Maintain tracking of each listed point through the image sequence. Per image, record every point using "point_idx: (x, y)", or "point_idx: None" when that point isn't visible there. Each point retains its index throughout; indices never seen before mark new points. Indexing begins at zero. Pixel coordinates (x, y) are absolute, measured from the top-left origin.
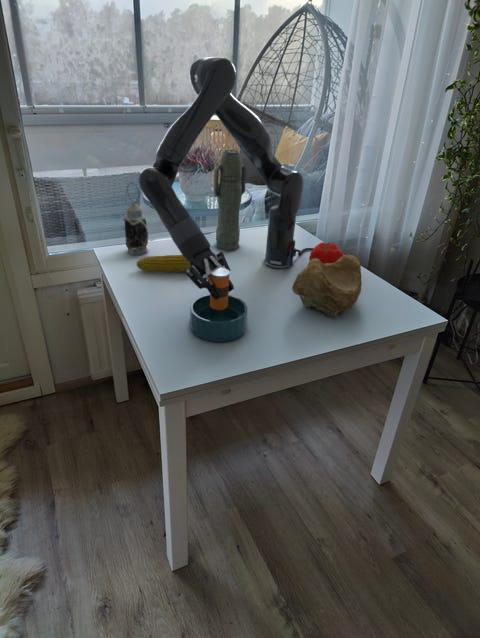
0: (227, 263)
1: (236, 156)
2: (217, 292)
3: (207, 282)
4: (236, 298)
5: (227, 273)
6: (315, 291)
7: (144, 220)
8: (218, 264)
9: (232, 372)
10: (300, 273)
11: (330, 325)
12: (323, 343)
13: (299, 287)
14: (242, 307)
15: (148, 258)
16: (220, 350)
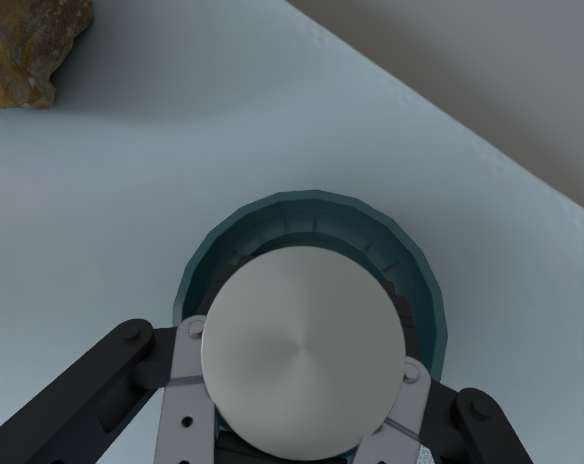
0: (61, 375)
1: None
2: (394, 304)
3: (430, 404)
4: (190, 281)
5: (298, 263)
6: (15, 4)
7: None
8: (181, 433)
9: (508, 166)
10: None
11: (134, 13)
12: (237, 4)
13: (9, 56)
14: (222, 243)
15: None
16: (429, 247)
